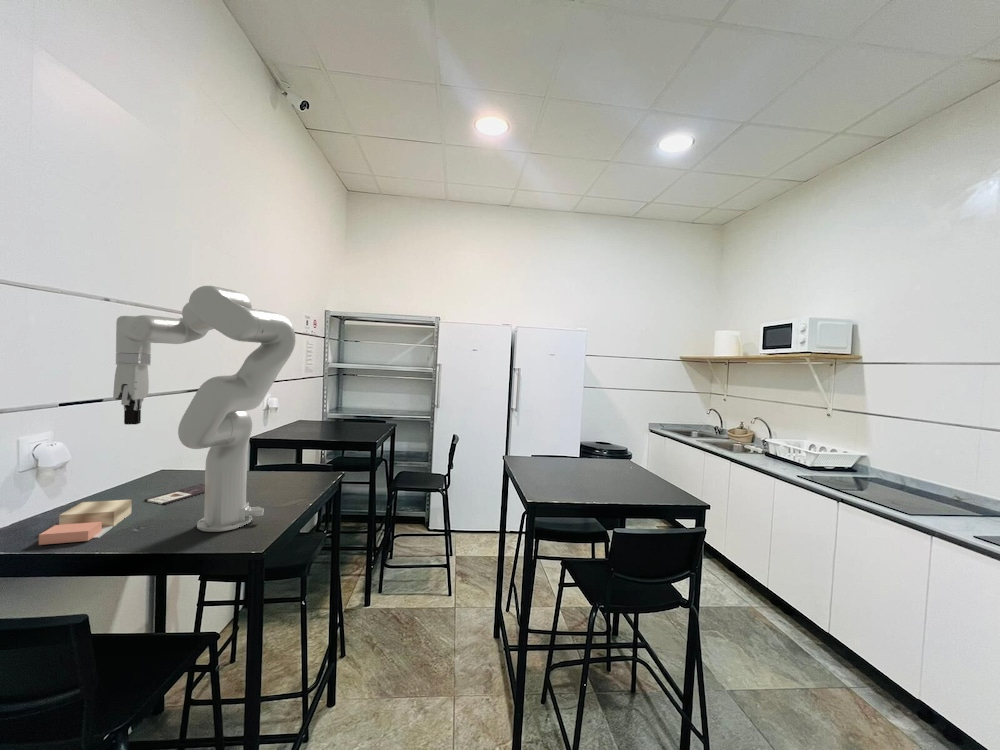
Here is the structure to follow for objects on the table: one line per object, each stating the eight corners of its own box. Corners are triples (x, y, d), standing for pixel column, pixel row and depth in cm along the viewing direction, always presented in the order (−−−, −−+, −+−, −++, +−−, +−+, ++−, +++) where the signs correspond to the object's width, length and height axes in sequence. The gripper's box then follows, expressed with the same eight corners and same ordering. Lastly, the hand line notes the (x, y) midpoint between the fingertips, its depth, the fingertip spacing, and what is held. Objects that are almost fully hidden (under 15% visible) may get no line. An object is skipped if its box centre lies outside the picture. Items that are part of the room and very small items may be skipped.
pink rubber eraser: (88, 530, 102) (88, 540, 102) (101, 521, 107) (101, 531, 107) (38, 534, 99) (38, 544, 99) (55, 525, 104) (55, 534, 104)
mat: (112, 527, 111) (112, 526, 111) (98, 538, 104) (98, 536, 104) (57, 531, 107) (57, 530, 107) (39, 543, 100) (39, 541, 100)
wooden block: (131, 513, 120) (131, 499, 120) (113, 526, 111) (114, 511, 111) (81, 516, 117) (81, 502, 116) (59, 530, 107) (59, 515, 107)
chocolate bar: (220, 487, 145) (165, 503, 128) (220, 490, 145) (165, 506, 128) (200, 484, 148) (144, 499, 131) (200, 486, 148) (144, 502, 131)
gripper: (129, 359, 127) (128, 420, 127) (103, 359, 113) (102, 428, 113) (159, 360, 129) (158, 420, 130) (138, 360, 116) (137, 427, 116)
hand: (132, 423), depth 122 cm, fingers closed
